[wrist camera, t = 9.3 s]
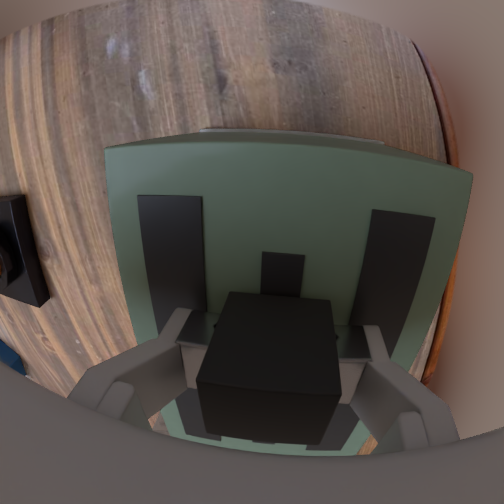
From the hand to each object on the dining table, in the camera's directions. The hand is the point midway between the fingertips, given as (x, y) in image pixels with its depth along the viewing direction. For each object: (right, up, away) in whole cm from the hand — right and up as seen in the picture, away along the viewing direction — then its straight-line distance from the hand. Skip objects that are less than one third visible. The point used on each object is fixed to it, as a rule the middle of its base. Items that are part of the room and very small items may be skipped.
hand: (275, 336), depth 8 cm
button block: (-28, +3, +16) cm, 33 cm away
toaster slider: (0, 0, 0) cm, 0 cm away
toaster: (+2, +3, +12) cm, 12 cm away
